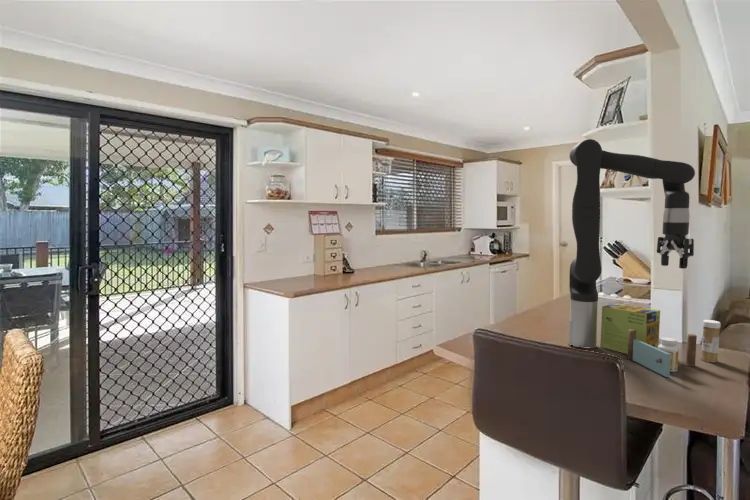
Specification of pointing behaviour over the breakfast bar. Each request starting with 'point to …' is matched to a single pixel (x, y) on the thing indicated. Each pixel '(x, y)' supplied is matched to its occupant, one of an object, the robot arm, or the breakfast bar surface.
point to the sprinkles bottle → (710, 340)
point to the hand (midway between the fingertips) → (673, 266)
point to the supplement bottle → (670, 347)
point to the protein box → (628, 326)
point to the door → (651, 357)
